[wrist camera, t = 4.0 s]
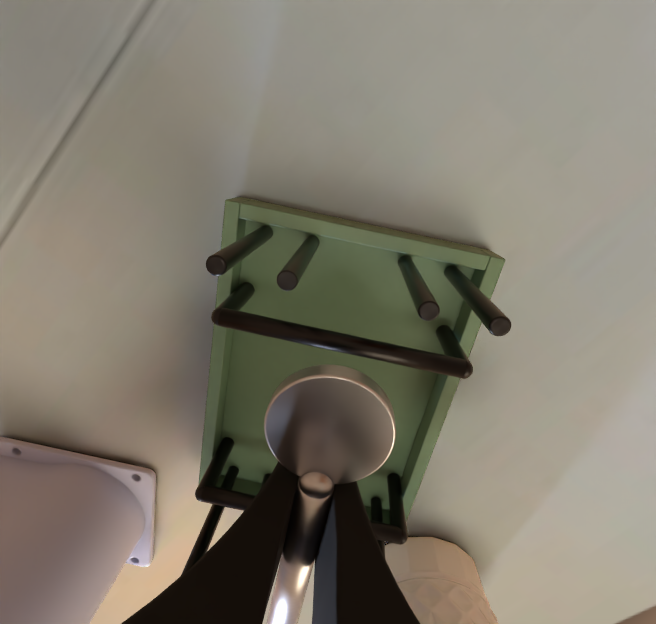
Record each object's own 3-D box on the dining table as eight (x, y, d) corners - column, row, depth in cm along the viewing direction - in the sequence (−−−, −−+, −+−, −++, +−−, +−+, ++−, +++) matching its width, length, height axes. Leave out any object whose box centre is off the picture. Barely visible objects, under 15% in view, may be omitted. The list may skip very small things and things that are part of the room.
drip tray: (396, 512, 22) (399, 540, 20) (209, 471, 22) (197, 496, 20) (490, 250, 16) (505, 259, 14) (238, 196, 16) (224, 199, 14)
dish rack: (389, 507, 21) (400, 631, 15) (218, 470, 21) (166, 580, 15) (473, 269, 16) (535, 323, 10) (247, 221, 16) (186, 249, 10)
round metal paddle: (320, 656, 14) (317, 691, 13) (229, 636, 14) (220, 669, 13) (409, 379, 10) (414, 401, 9) (278, 350, 10) (270, 370, 9)
